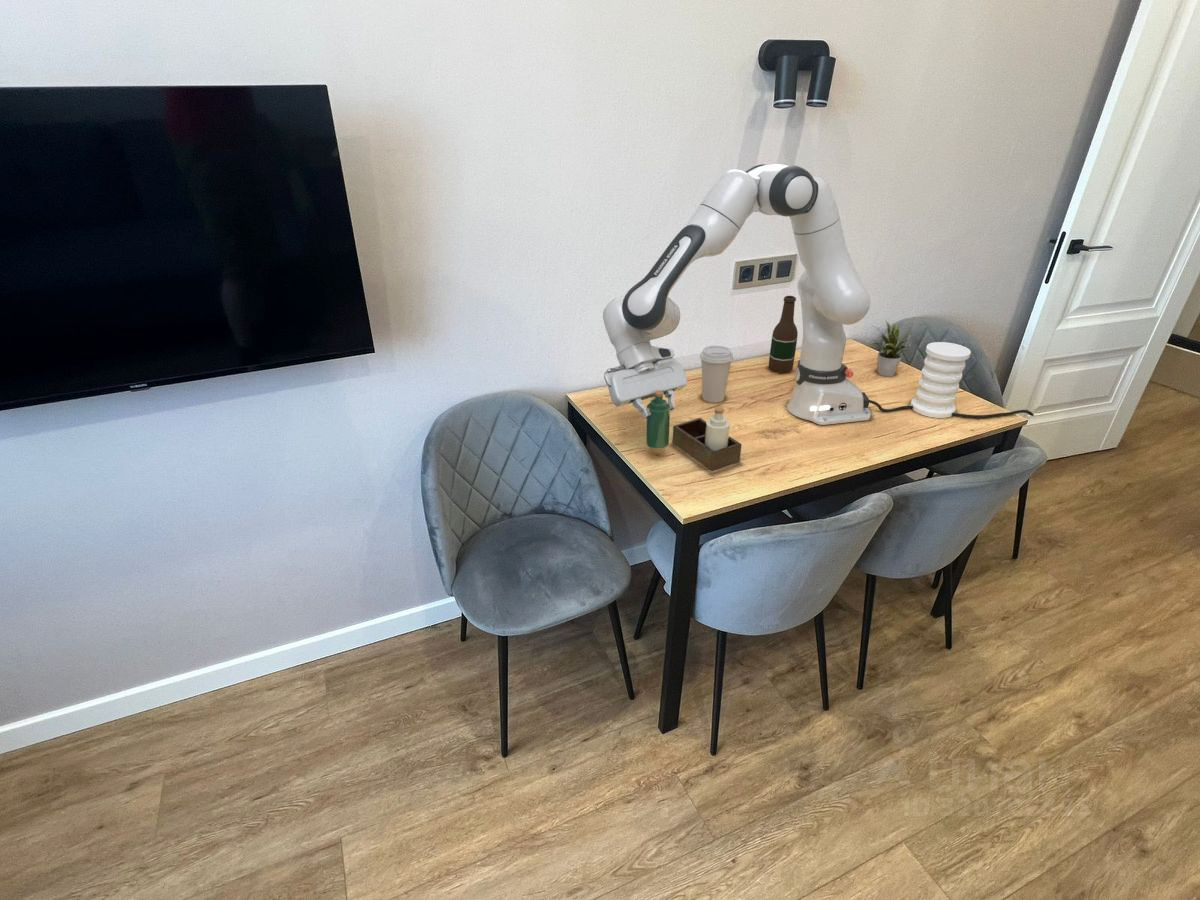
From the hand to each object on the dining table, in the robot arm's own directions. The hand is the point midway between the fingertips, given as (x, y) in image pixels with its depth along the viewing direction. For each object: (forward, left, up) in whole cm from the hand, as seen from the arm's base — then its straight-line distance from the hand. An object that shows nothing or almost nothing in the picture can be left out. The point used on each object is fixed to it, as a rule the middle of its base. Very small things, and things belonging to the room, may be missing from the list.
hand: (659, 413), depth 153 cm
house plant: (-76, -54, -14) cm, 95 cm away
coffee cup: (-19, -36, -14) cm, 43 cm away
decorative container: (-80, -27, -14) cm, 86 cm away
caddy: (-12, -3, -13) cm, 18 cm away
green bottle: (0, -1, -8) cm, 8 cm away
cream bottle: (-14, 0, -13) cm, 19 cm away
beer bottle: (-44, -57, -14) cm, 74 cm away
